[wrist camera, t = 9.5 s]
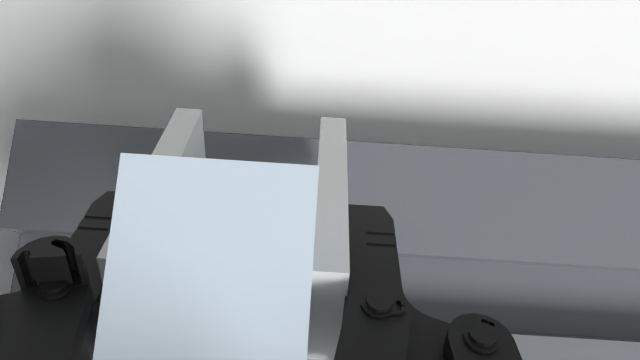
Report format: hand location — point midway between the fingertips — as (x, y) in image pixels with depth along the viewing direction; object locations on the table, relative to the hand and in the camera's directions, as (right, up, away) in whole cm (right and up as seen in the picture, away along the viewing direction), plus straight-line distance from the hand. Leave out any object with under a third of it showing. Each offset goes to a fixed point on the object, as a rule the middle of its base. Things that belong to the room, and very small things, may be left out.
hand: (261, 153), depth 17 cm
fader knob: (0, -4, +3) cm, 5 cm away
